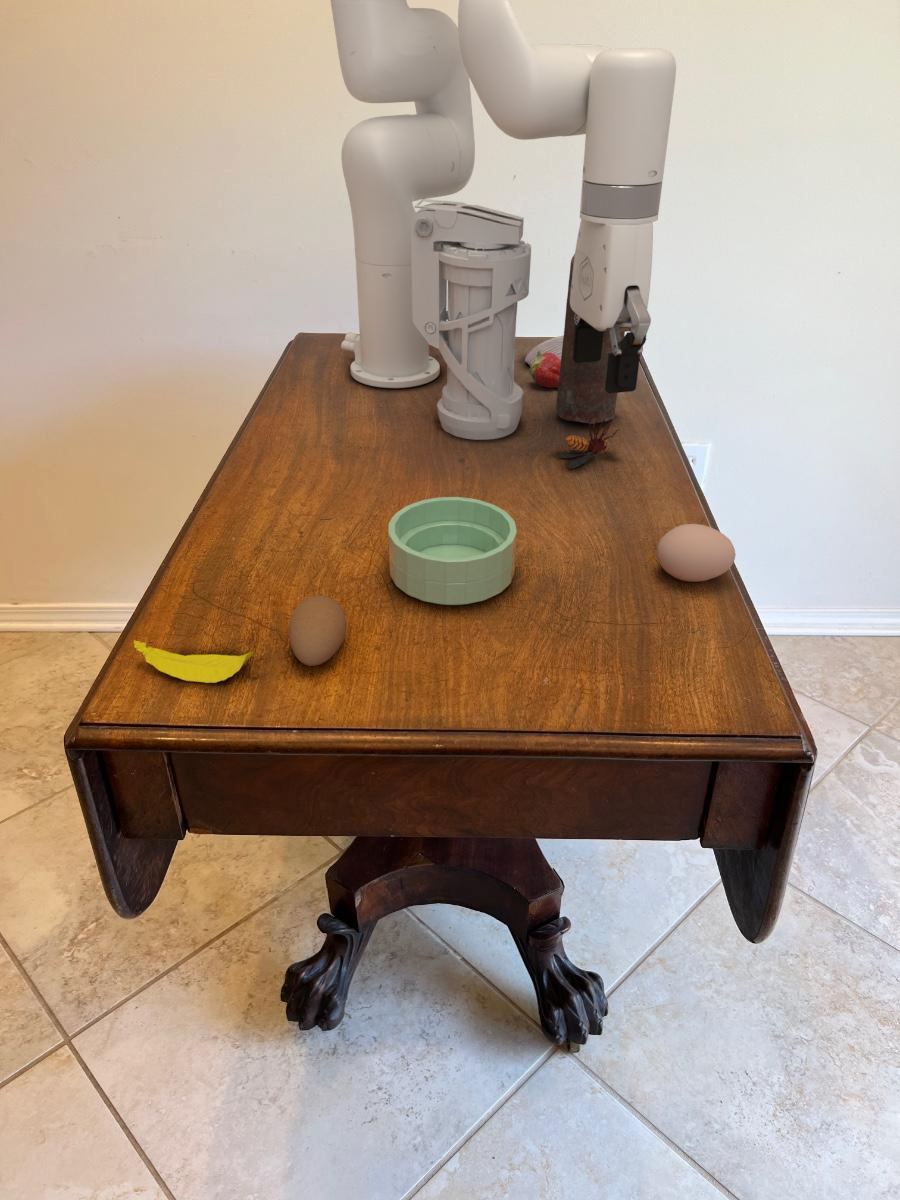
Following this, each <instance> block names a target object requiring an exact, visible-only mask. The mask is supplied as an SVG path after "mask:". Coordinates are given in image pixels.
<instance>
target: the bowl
mask: <svg viewBox="0 0 900 1200" xmlns="http://www.w3.org/2000/svg"><path fill="white" fill-rule="evenodd" d="M387 530H388V531H387V536H388V558H389V559H388V560H389V561H388V562H389V576H390V578H391V579H392V581H393V583H394V584H395V586H396V587H397V588H398V589H399V590H401V591H402V592H403V593H405V594H406V595H407V596H409V597H411V598H415V599H417V600H420V601H422V602H427V603H431V604H436V605H441V606H442V605H443V606H463V605H470V604H474V603H478V602H479V603H480V602H483V601H486V600H489V599H490V598H492V597H495V596H497V595H499V594H501V593H502V592H503V591H504V590H505V589H506V588H508V586H509V585H511V583H512V580H513V578H514V575H515V571H516V570H515V569H516V553H517V540H518V539H517V538H518V530H517V525H516V521H515V520H514V519H513V517H512V516H511V515H510V514H509V512H507V511H506V510H504V509H502V508H500V507H499V506H498V505H495V504H493V503H490V502H487V501H484V500H482V499H481V500H480V499H477V498H469V497H463V496H440V497H432V498H426V499H421V500H419V501H415V502H414V503H411V504H408V505H405V506H404V507H403V508H401V509H399V510H398V511H397V512H395V513H394V515H393V516H392V518H390V520H389V521H388V529H387Z"/></svg>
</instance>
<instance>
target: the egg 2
mask: <svg viewBox="0 0 900 1200" xmlns="http://www.w3.org/2000/svg"><path fill="white" fill-rule="evenodd" d="M656 558H657V561H658V563H659V565H660V566H661V567H662V569H663V570H664V571H665V572H666V573H667V574H668V575H670V576H672V577H673V578H675V579H676V580H679V581H684V582H692V583H695V582H696V583H698V582H705V581H709V580H712V579H714V578H717V577H719V576H721V575H723V574H725V573H726V572H727V571H728V570H730V568H731V567H732V566H733V564H734V562H735V560H736V549H735V546H734V544H733V542H732V540H730V538H729V537H727V536H726V535H725V534H723V533H722V532H721V531H719V530H717V529H715V528H713V527H711V526H707V525H705V524H699V523H687V524H681V525H678V526H675V527H673V528H672V529H670V530H669V531H668V532H666V533H665V534H664V535H662V537H661V538H660V540H659V542H658V544H657V548H656Z"/></svg>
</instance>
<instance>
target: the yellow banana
mask: <svg viewBox="0 0 900 1200" xmlns="http://www.w3.org/2000/svg"><path fill="white" fill-rule="evenodd" d="M133 646H134V648H135V649H136V651H137V652H139V653H142V655H143V657H144V659H145V662H146V663H148V664H149V665H151V666H153V667H154V668H155V669H156V670H158V671H160V672H161V673H164V674H167V675H168V676H170V677H173V678H178V679H180V680H182V681H186V682H197V683H205V684H210V683H212V684H217V683H218V682H221V681H226V680H227V679H229V678H231V677H233V676H234V675H235V674H237V672H239V671H240V670H241V669H242V667H243V666H244V665H245V664H246V662H247V661H248V660H250V659H251V658H252V656H253V655H254V654H255V651H254V650H253V651H249V652H247V653H245V654H240V655H229V654H215V653H214V654H212V653H211V654H187V655H183V654H180V653H176V652H175V653H174V652H170V651H166V650H164V649H161V648H157V647H156V648H154V647H152V646H147V642H145V641H143V642H141V641H139V640H135V639H134V640H133Z"/></svg>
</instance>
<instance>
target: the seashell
mask: <svg viewBox="0 0 900 1200" xmlns="http://www.w3.org/2000/svg"><path fill="white" fill-rule="evenodd" d="M563 337H564V335H559V336H555V337H551V338H549V339H547V340H544V341H543V342H541V343H539V344H538V345H536V346H534V347H533V348H532V349H531V351H529V352H528V353H527V354H526V356H525V358H524V362H525V363H527V364H528V365H529V368H531V365H530V364H529V362H530V363H532V364H533V362H534V361H535V359H536V357H537V356H536V355H537V352H538V350H539V351H540V353H541V354H544V353H552V354H555V355H556V356H557V357H558V358H559V359H560V360H561V356H562V346H563Z"/></svg>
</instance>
